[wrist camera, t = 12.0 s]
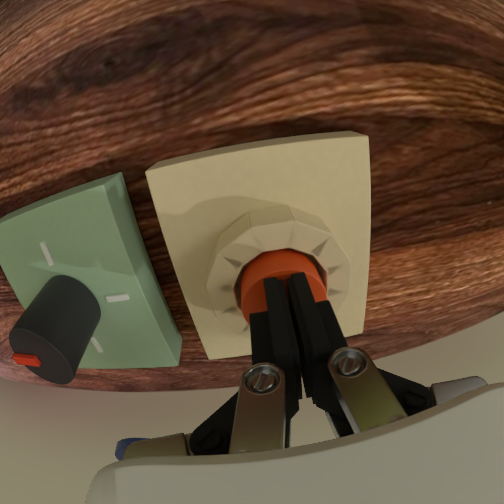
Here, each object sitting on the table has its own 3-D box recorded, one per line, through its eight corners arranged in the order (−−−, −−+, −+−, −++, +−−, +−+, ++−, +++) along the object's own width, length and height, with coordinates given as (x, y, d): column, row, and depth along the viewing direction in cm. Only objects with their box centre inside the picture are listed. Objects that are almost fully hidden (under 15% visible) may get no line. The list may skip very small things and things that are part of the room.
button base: (352, 311, 19) (372, 353, 15) (210, 336, 19) (207, 382, 16) (350, 130, 13) (387, 141, 10) (156, 161, 14) (130, 182, 10)
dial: (84, 271, 13) (42, 333, 9) (111, 327, 15) (85, 392, 11) (36, 277, 13) (-6, 331, 9) (63, 328, 15) (34, 384, 11)
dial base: (183, 339, 19) (178, 368, 17) (74, 346, 20) (63, 369, 17) (122, 171, 14) (101, 185, 11) (6, 214, 14) (-17, 231, 12)
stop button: (318, 305, 14) (327, 328, 13) (247, 317, 14) (249, 342, 13) (315, 241, 12) (326, 262, 11) (233, 255, 13) (233, 277, 11)
